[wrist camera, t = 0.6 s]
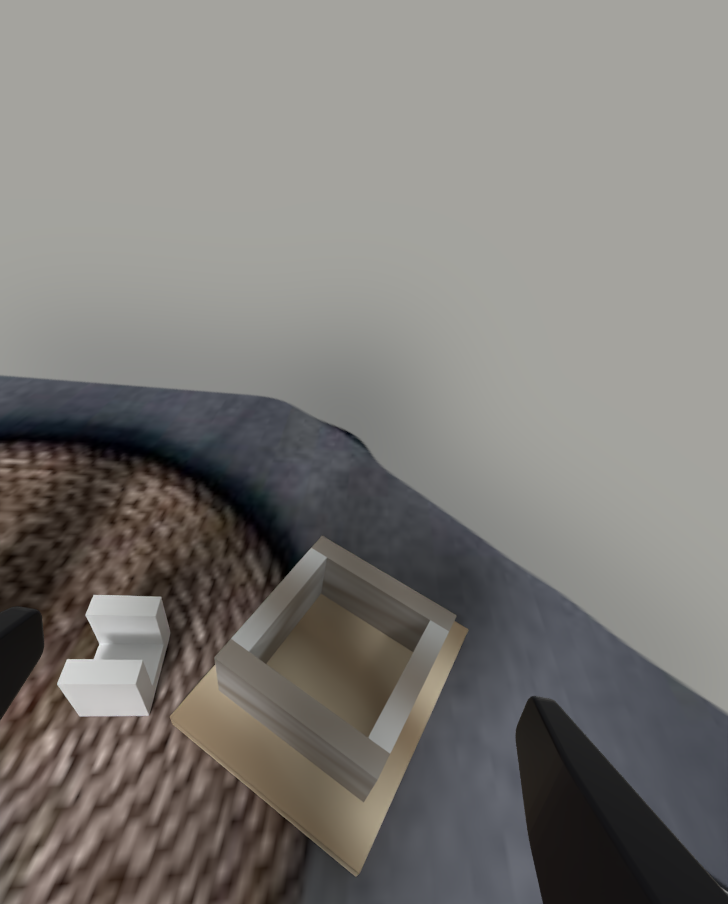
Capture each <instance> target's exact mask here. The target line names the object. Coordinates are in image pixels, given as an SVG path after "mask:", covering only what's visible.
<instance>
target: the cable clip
mask: <svg viewBox="0 0 728 904" xmlns="http://www.w3.org/2000/svg"><path fill="white" fill-rule="evenodd" d="M86 617H87V619H88V621H89V623H90V625H91V627H92V629H93V631H94V633H95V635H96V637H97V640H98V642H99V647H98V649H97V652H96V655H95V657H94V660H92V659H67V661H66V664H65V666H64V668H63V671H62V673H61V676H60V678H59V681H58V683H57V685H58V686H59V688H60V689H61V690H62V692H63V693H64V695H65V696H66V698H67V699H68V700H69V702H70V703H71V705H72V706H73V708H74V709H75V710H76V712H77V713H78V715H79V716H149V715H150V711H151V707H152V703H153V699H154V695H155V692H156V688H157V684H158V680H159V676H160V672H161V668H162V664H163V661H164V657H165V653H166V649H167V645H168V641H169V637H170V634H171V632H170V629H169V625H168V621H167V617H166V613H165V609H164V606H163V602H162V598H161V597H153V596H115V595H94V596H93V598H92V600H91V603H90V605H89V608H88V610H87V613H86Z"/></svg>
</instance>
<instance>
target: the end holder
mask: <svg viewBox="0 0 728 904" xmlns="http://www.w3.org/2000/svg"><path fill="white" fill-rule="evenodd" d="M456 616H457V615H455V614H453V613H452V612H450V611H448V610H447V609H445V608H443V607H442V606H440V605H438V604H437V603H435V602H433V601H432V600H430V599H428V598H426V597H425V596H423V595H421V594H420V593H418V592H416V591H415V590H413V589H411V588H410V587H408V586H406V585H405V584H403V583H401V582H399V581H398V580H396V579H394V578H393V577H391V576H389V575H388V574H386V573H384V572H383V571H381V570H379V569H378V568H376V567H374V566H373V565H371V564H369V563H367V562H366V561H364V560H362V559H361V558H359V557H357V556H356V555H354V554H352V553H351V552H349V551H347V550H346V549H344V548H342V547H340V546H339V545H337V544H335V543H334V542H332V541H330V540H329V539H327V538H325V537H324V536H321V537H320V538H319V540H318V541H317V542H316V543H315V544H314V545H313V546H312V548H311V549H310V550H309V551H308V552H307V553H306V554H305V555H304V557H303V558H302V559H301V560H300V561H299V562H298V563H297V564H296V566H295V567H294V568H293V569H292V570H291V571H290V572H289V574H288V575H287V576H286V577H285V578H284V579H283V580H282V581H281V583H280V584H279V585H278V586H277V587H276V588H275V589H274V591H273V592H272V593H271V594H270V595H269V596H268V597H267V598H266V600H265V601H264V602H263V603H262V604H261V605H260V606H259V608H258V609H257V610H256V611H255V612H254V613H253V614H252V615H251V617H250V618H249V619H248V620H247V621H246V622H245V623H244V625H243V626H242V627H241V628H240V629H239V630H238V631H237V632H236V634H235V635H234V636H233V637H232V638H231V639H230V640H229V641H228V643H227V644H226V645H225V646H224V647H223V648H222V649H221V651H220V652H219V653H218V654H217V655H216V656H215V657H214V659H215V665H214V666H213V668H212V669H211V670H210V671H209V672H208V673H207V674H206V676H205V677H204V678H203V679H202V680H201V681H200V682H199V684H198V685H197V686H196V687H195V688H194V689H193V691H192V692H191V693H190V694H189V695H188V696H187V697H186V699H185V700H184V701H183V702H182V703H181V704H180V705H179V707H178V708H177V709H176V710H175V711H174V712H173V713H172V715H171V716H170V719H171V721H172V724H173V725H174V726H175V727H176V728H177V729H179V730H180V731H181V732H182V733H183V734H185V735H186V736H187V737H188V738H189V739H191V740H192V741H193V742H194V743H195V744H197V745H198V746H199V747H200V748H201V749H203V750H204V751H205V752H206V753H207V754H209V755H210V756H211V757H212V758H213V759H215V760H216V761H217V762H218V763H219V764H221V765H222V766H223V767H224V768H225V769H227V770H228V771H229V772H230V773H231V774H233V775H234V776H235V777H236V778H237V779H239V780H240V781H241V782H242V783H243V784H245V785H246V786H247V787H248V788H249V789H251V790H252V791H253V792H254V793H255V794H257V795H258V796H259V797H260V798H261V799H263V800H264V801H265V802H266V803H268V804H269V805H270V806H271V807H272V808H274V809H275V810H276V811H277V812H278V813H280V814H281V815H282V816H283V817H284V818H286V819H287V820H288V821H289V822H290V823H292V824H293V825H294V826H295V827H296V828H298V829H299V830H300V831H301V832H302V833H304V834H305V835H306V836H307V837H308V838H310V839H311V840H312V841H313V842H314V843H316V844H317V845H318V846H319V847H320V848H322V849H323V850H324V851H325V852H326V853H328V854H329V855H330V856H331V857H332V858H334V859H335V860H336V861H337V862H338V863H340V864H341V865H342V866H343V867H344V868H346V869H347V870H348V871H349V872H350V873H352V874H353V875H354V876H355V877H357V876H358V875H359V874H360V871H361V869H362V867H363V865H364V862H365V860H366V858H367V856H368V853H369V851H370V849H371V847H372V845H373V842H374V840H375V838H376V836H377V833H378V831H379V829H380V827H381V824H382V822H383V820H384V818H385V815H386V813H387V811H388V809H389V807H390V804H391V802H392V800H393V798H394V795H395V793H396V791H397V789H398V786H399V784H400V782H401V780H402V777H403V775H404V773H405V771H406V768H407V766H408V764H409V762H410V760H411V757H412V755H413V753H414V751H415V748H416V746H417V744H418V742H419V739H420V737H421V735H422V733H423V730H424V728H425V726H426V724H427V722H428V719H429V717H430V715H431V713H432V710H433V708H434V706H435V704H436V701H437V699H438V697H439V695H440V692H441V690H442V688H443V686H444V683H445V681H446V679H447V677H448V675H449V672H450V670H451V668H452V666H453V663H454V661H455V659H456V657H457V654H458V652H459V650H460V648H461V645H462V643H463V641H464V639H465V637H466V634H467V632H468V630H469V629H467V628H465V627H464V626H462V625H460V624H459V623H457V622H455V618H456Z"/></svg>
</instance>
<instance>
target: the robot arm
mask: <svg viewBox="0 0 728 904" xmlns="http://www.w3.org/2000/svg"><path fill="white" fill-rule="evenodd" d="M43 649H44V635H43V624H42V615H41V613H40V612H39V610H36V609H31V608H26V607H20V606H16V607H12V608H9V609H7V610H4V611H2V612H0V720H1V719H2V717H3V715H4V714H5V712H6V711H7V709H8V708H9V706H10V705H11V703H12V701H13V700H14V698H15V697H16V695H17V694H18V692H19V690H20V689H21V687H22V686H23V684H24V683H25V681H26V680H27V678H28V676H29V675H30V673H31V672H32V670H33V669H34V667H35V665H36V664H37V662H38V661H39V659H40V657H41V655H42V653H43ZM516 747H517V754H518V762H519V770H520V778H521V785H522V793H523V801H524V809H525V816H526V823H527V830H528V836H529V841H530V846H531V851H532V856H533V861H534V865H535V869H536V874H537V878H538V883H539V887H540V892H541V896H542V901H543V904H728V895H727V893H726V892H725V891H724V890H723V889H722V888H721V887H720V886H719V884H718V883H717V882H716V881H715V880H714V879H713V878H712V877H711V875H710V874H709V873H708V872H707V871H706V870H705V869H704V868H703V866H702V865H701V864H700V863H699V862H698V861H697V860H696V859H695V857H694V856H693V855H692V854H691V853H690V852H689V851H688V850H687V849H686V847H685V846H684V845H683V844H682V843H681V842H680V841H679V840H678V838H677V837H676V836H675V835H674V834H673V833H672V832H671V831H670V829H669V828H668V827H667V826H666V825H665V824H664V823H663V822H662V820H661V819H660V818H659V817H658V816H657V815H656V814H655V813H654V811H653V810H652V809H651V808H650V807H649V806H648V805H647V804H646V802H645V801H644V800H643V799H642V798H641V797H640V796H639V795H638V793H637V792H636V791H635V790H634V789H633V788H632V787H631V786H630V784H629V783H628V782H627V781H626V780H625V779H624V778H623V777H622V776H621V774H620V773H619V772H618V771H617V770H616V769H615V768H614V767H613V765H612V764H611V763H610V762H609V761H608V760H607V759H606V758H605V756H604V755H603V754H602V753H601V752H600V751H599V750H598V749H597V747H596V746H595V745H594V744H593V743H592V742H591V741H590V740H589V738H588V737H587V736H586V735H585V734H584V733H583V732H582V731H581V729H580V728H579V727H578V726H577V725H576V724H575V723H574V722H573V720H572V719H571V718H570V717H569V716H568V715H567V714H566V713H565V712H564V710H563V709H562V708H561V707H560V706H559V705H558V704H557V703H556V702H555V701H554V700H552V699H549V698H543V697H537V696H532V697H530V698H529V699H528V701H527V703H526V705H525V708H524V710H523V713H522V715H521V717H520V720H519V722H518V725H517V728H516Z"/></svg>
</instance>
